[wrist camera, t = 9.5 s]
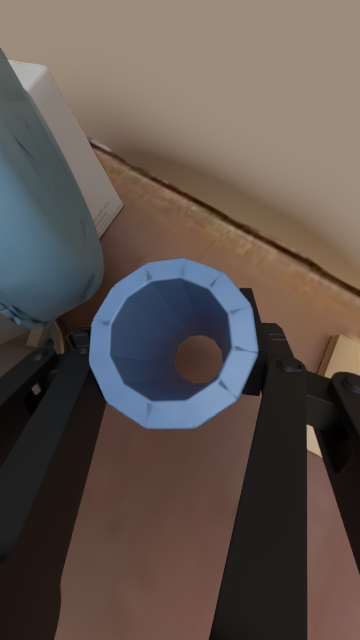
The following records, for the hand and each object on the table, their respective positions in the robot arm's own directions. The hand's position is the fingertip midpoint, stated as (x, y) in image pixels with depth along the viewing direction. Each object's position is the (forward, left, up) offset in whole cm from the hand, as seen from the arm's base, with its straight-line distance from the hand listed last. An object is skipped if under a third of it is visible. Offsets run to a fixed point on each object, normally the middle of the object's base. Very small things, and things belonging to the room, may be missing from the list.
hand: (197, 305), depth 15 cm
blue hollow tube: (+1, -3, -3) cm, 5 cm away
